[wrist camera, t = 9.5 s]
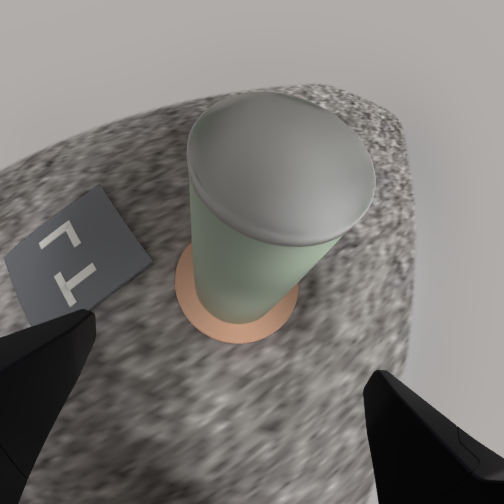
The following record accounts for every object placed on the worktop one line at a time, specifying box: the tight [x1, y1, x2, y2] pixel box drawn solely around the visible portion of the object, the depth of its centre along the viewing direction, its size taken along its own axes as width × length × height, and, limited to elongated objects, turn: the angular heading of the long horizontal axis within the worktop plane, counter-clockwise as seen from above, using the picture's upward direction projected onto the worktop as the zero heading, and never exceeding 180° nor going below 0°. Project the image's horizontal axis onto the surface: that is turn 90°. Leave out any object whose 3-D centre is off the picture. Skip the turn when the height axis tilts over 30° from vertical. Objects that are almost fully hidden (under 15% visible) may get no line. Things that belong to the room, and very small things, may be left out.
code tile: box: [4, 185, 153, 327], centre depth 18 cm, size 10×8×1 cm
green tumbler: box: [187, 92, 376, 324], centre depth 13 cm, size 6×6×12 cm
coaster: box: [175, 241, 299, 344], centre depth 19 cm, size 8×8×1 cm
